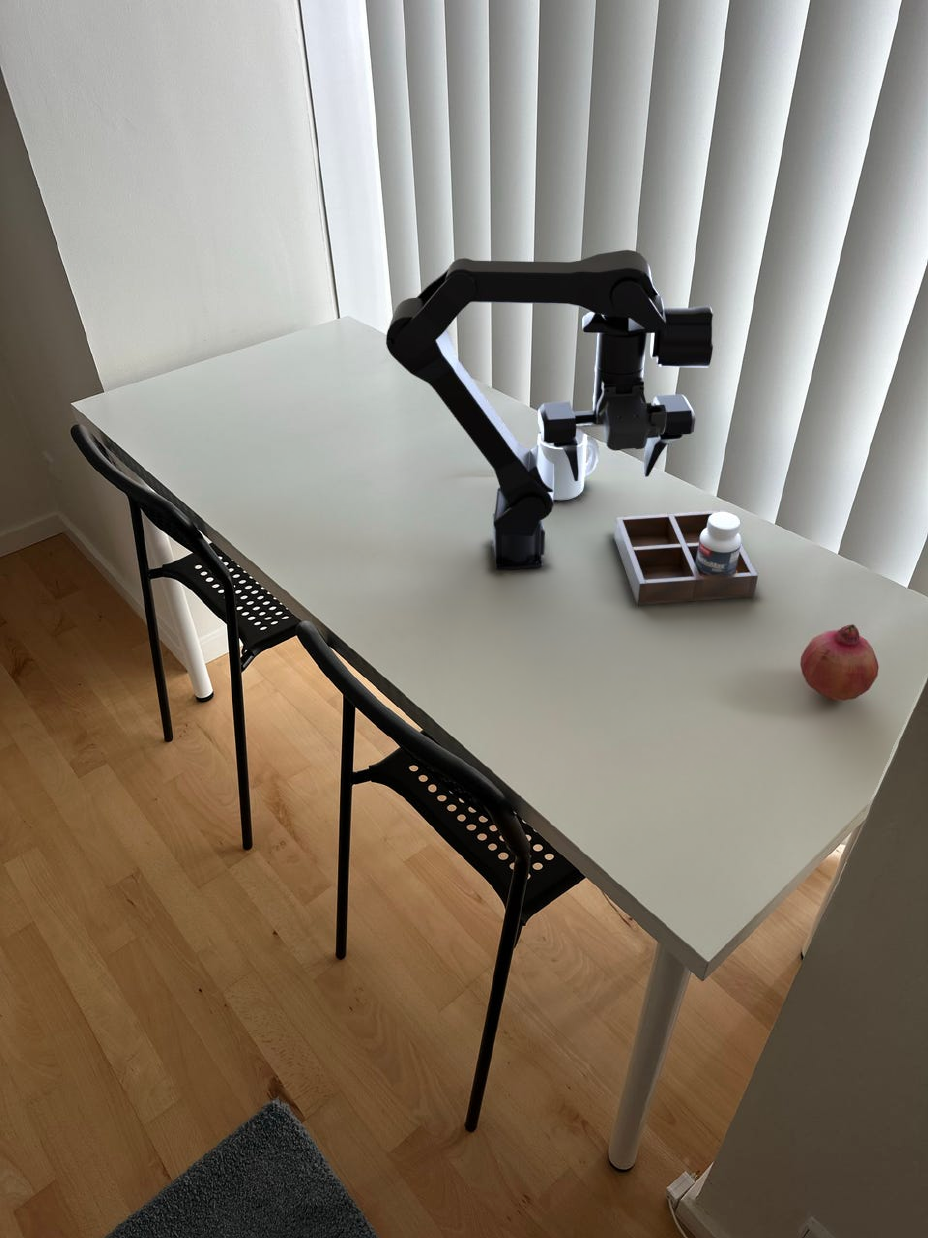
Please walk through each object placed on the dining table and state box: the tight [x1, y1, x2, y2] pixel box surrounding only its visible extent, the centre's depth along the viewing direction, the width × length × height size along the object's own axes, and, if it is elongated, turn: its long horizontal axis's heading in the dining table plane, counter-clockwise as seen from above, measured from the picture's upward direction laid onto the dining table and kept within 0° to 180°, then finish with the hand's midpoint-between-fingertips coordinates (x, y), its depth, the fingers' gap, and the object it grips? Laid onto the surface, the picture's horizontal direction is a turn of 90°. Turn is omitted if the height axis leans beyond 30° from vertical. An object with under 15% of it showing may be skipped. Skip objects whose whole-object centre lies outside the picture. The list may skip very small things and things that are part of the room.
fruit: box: [799, 623, 879, 701], centre depth 107 cm, size 8×8×10 cm
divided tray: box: [613, 509, 759, 606], centre depth 128 cm, size 15×15×4 cm
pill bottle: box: [695, 511, 742, 576], centre depth 124 cm, size 5×5×9 cm
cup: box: [537, 428, 600, 501], centre depth 143 cm, size 7×10×9 cm
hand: (610, 477), depth 123 cm, fingers open, 9 cm apart
